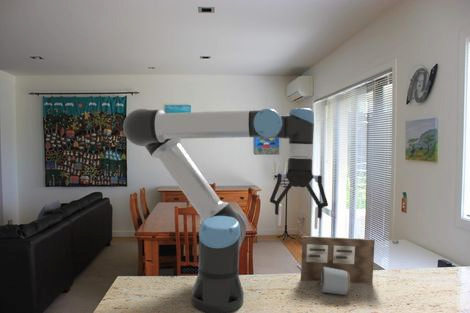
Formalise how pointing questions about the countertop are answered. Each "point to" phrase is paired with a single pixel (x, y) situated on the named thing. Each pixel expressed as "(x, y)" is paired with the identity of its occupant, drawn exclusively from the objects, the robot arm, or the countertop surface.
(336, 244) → the wooden board
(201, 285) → the robot arm
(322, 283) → the ceramic mug
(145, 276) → the countertop surface
